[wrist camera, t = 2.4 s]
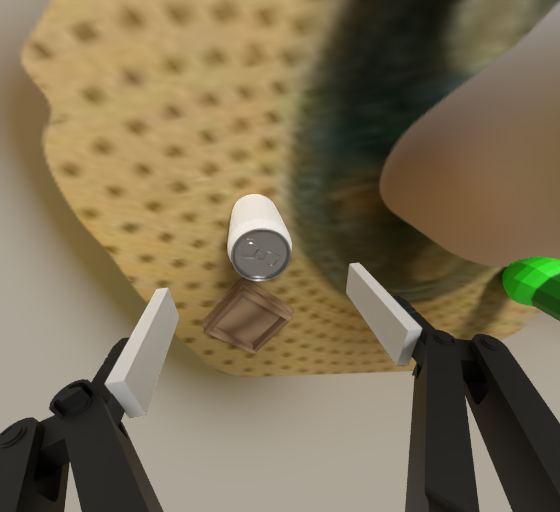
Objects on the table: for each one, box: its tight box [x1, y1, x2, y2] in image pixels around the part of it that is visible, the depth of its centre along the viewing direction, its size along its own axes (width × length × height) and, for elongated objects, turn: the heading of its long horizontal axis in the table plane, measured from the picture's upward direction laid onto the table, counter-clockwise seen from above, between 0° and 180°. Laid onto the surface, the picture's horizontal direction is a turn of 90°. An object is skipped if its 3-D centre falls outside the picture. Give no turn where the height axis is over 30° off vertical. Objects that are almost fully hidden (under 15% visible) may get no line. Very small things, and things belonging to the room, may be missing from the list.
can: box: [227, 194, 292, 282], centre depth 26 cm, size 6×6×12 cm
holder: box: [201, 277, 294, 354], centre depth 38 cm, size 12×12×2 cm
